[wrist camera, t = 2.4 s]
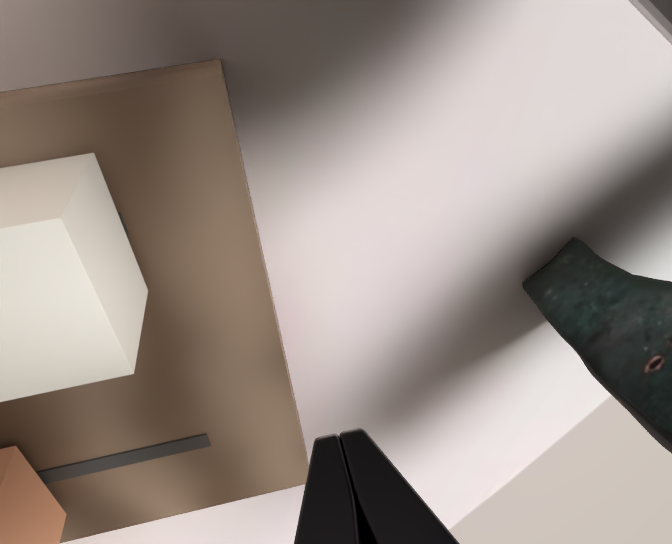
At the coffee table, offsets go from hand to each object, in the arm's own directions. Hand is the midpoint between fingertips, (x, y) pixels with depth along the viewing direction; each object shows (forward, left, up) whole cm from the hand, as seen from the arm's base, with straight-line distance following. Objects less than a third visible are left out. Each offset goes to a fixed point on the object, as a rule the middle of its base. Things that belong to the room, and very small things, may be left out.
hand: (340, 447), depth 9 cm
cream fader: (+7, 0, -10) cm, 12 cm away
